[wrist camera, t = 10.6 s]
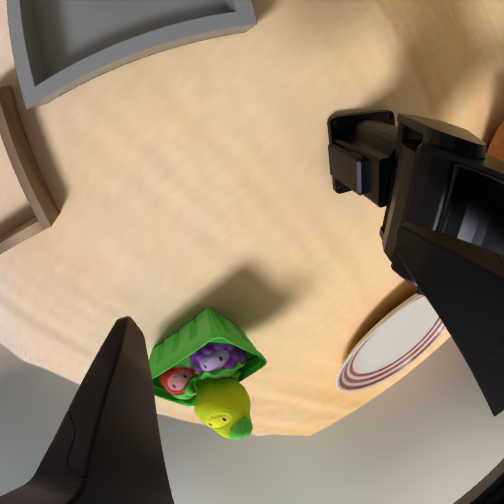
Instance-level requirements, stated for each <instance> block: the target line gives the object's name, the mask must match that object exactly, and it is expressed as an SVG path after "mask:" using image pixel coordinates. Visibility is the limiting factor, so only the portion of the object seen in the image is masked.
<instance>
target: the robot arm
mask: <svg viewBox="0 0 504 504" xmlns="http://www.w3.org/2000/svg"><path fill="white" fill-rule="evenodd" d="M388 115H389V118H388ZM334 121H336V124H335V125H334V126H333V122H334ZM397 121H398V122H399V125H398V127H397V126H395V121H394V113H393V112H392V111H389V110H382V111H371V112H362V113H354V114H346V115H339V116H332V117H330V118H329V119H328V121H327V125H328V134H329V145H328V152H329V163H330V174H331V175H332V179H333V189H334V191H335V192H337V193H339V194H341V193H344V192H348V191H352V190H353V191H354V192H356V193H357V194H358V195H364V196H365V197H367V198H368V199H369V200H371V201H372V202H373V203H375V204H376V205H377V206H379V207H384V206H386V211H385V216H384V221H383V225H382V226H381V228H380V232H379V234H380V236H381V238H382V245H383V249H384V252H385V254H386V255H387V257H388V258H389V260H390V261H391V262H392V264H391V268H392V269H393V271H394V272H396V273H397V274H398V275H399V276H400V277H402V278H403V279H405V280H406V281H407V282H409V283H411V284H413V285H415V286H417V288H416V293H417V294H419V295H424V296H425V297H426V299H427V300H428V301H429V303H430V304H431V306H432V307H433V309H434V310H435V312H436V313H437V315H438V316H439V318H440V319H441V321H442V322H443V324H444V326H445V327H446V329H447V330H448V332H449V333H450V335H451V337H452V338H453V340H454V342H455V343H456V345H457V347H458V348H459V350H460V352H461V353H462V355H463V357H464V358H465V360H466V362H467V364H468V366H469V368H470V369H471V371H472V373H473V375H474V377H475V379H476V381H477V383H478V385H479V387H480V388H481V390H482V393H483V395H484V397H485V399H486V401H487V403H488V405H489V407H490V409H491V412H492V413H493V415H494V416H496V415H498V414H499V413H500V412H502V411H503V410H504V162H503V161H502V160H500V159H498V158H496V157H493V156H491V155H489V154H487V153H486V147H487V145H486V144H485V143H484V142H483V141H482V140H480V139H479V138H478V137H476V136H475V135H473V134H472V133H471V132H469V131H468V130H466V129H463V128H460V127H458V126H455V125H452V124H449V123H446V122H443V121H439V120H434V119H429V118H424V117H418V116H413V115H406V114H400V113H398V119H397ZM340 185H341V187H340V188H339V189H338V187H339V186H340ZM0 504H174V501H173V498H172V494H171V490H170V485H169V481H168V476H167V472H166V467H165V462H164V457H163V451H162V446H161V440H160V433H159V427H158V420H157V413H156V405H155V397H154V388H153V380H152V375H151V370H150V365H149V360H148V355H147V349H146V343H145V338H144V335H143V333H142V331H141V330H140V329H139V327H138V326H137V325H136V323H135V322H134V321H133V319H132V318H131V317H129V316H126V317H123V318H120V319H118V320H117V321H116V322H115V324H114V326H113V327H112V329H111V331H110V332H109V334H108V336H107V338H106V339H105V341H104V343H103V345H102V346H101V348H100V350H99V352H98V353H97V355H96V357H95V359H94V361H93V362H92V364H91V366H90V368H89V370H88V372H87V373H86V375H85V377H84V379H83V381H82V383H81V385H80V387H79V389H78V391H77V393H76V395H75V396H74V398H73V401H72V402H71V404H70V407H69V410H68V411H67V413H66V415H65V417H64V419H63V421H62V423H61V425H60V427H59V429H58V432H57V433H56V435H55V437H54V439H53V441H52V443H51V445H50V446H49V448H48V450H47V452H46V454H45V456H44V458H43V459H42V461H41V463H40V465H39V467H38V469H37V471H36V473H35V474H34V476H33V477H32V479H31V480H30V481H29V482H27V483H26V484H25V485H23V486H21V487H19V488H17V489H15V490H13V491H11V492H9V493H7V494H5V495H2V496H0ZM453 504H504V459H503V460H502V461H501V462H500V463H499V464H498V465H497V466H496V467H495V468H494V469H493V470H492V471H491V472H490V473H489V474H488V475H487V476H485V478H483V479H482V480H481V481H480V482H479V483H478V484H477V485H475V486H474V487H473V488H472V489H471V490H470V491H468V492H467V493H466V494H465V495H464V496H462V497H461V498H460V499H458V500H457V501H456V502H455V503H453Z"/></svg>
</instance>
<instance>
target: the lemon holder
mask: <svg viewBox="0 0 504 504" xmlns="http://www.w3.org/2000/svg"><path fill="white" fill-rule="evenodd" d="M0 134H1V137H2V140H3V143H4V146H5V148H6V151H7V154H8V156H9V159H10V161H11V164H12V166H13V169H14V171H15V174H16V176H17V178H18V180H19V183H20V185H21V187H22V189H23V191H24V193H25V196H26V198H27V200H28V202H29V204H30V206H31V208H32V210H33V212H34V214H35V215H36V216H34V217H32V218H30V219H29V220H27V221H25V222H23V223H22V224H20V225H18V226H17V227H15V228H13V229H12V230H10V231H9V232H7V233H5V234H4V235H2V236H1V237H0V254H2V253H3V252H5V251H7V250H8V249H10V248H12V247H14V246H15V245H17V244H19V243H21V242H22V241H24V240H26V239H28V238H30V237H32V236H34V235H35V234H37V233H39V232H41V231H43V230H45V229H47V228H49V227H51V226H52V224H53V223H54V221H55V220H56V219H57V217H58V216H59V214H60V213H59V211H58V209H57V207H56V205H55V203H54V201H53V199H52V197H51V195H50V193H49V191H48V188H47V186H46V184H45V182H44V180H43V177H42V175H41V173H40V170H39V168H38V166H37V163H36V161H35V158H34V156H33V153H32V151H31V148H30V145H29V143H28V140H27V137H26V134H25V132H24V129H23V126H22V123H21V120H20V116H19V113H18V110H17V106H16V103H15V99H14V96H13V92H12V88H11V86H7V87H1V88H0Z"/></svg>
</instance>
